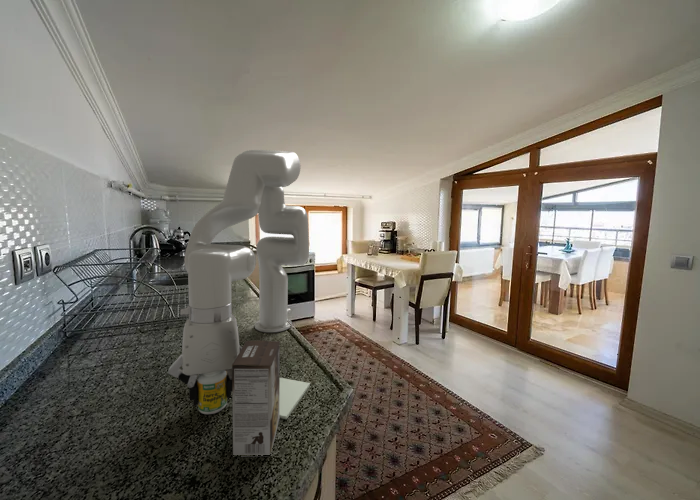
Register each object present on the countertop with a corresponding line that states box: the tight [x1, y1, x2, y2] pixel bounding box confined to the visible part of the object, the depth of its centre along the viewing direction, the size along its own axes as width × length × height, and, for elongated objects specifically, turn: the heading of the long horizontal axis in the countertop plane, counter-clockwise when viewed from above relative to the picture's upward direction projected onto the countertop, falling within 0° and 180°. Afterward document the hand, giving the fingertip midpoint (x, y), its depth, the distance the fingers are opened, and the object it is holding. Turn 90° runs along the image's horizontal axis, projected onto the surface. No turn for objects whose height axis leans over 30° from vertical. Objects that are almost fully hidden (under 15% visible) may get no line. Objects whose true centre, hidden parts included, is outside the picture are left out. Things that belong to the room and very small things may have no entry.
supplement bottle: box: [196, 370, 228, 415], centre depth 60 cm, size 5×5×10 cm
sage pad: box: [279, 377, 311, 420], centre depth 64 cm, size 12×12×1 cm
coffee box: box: [231, 339, 281, 457], centre depth 52 cm, size 9×6×16 cm
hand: (212, 397), depth 60 cm, fingers closed on supplement bottle, 5 cm apart
